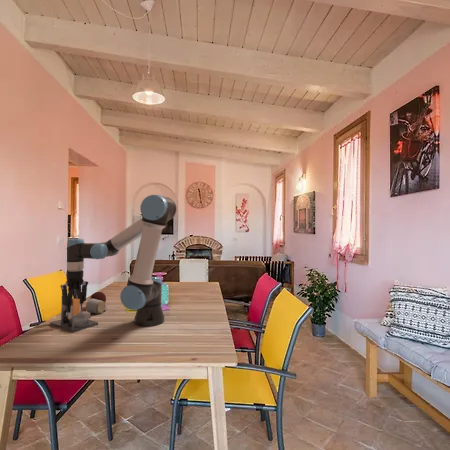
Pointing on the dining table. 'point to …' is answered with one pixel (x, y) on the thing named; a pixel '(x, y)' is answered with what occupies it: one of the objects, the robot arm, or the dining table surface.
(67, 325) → the dark block with post
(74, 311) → the orange rectangular block
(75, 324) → the grey rock
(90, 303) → the ceramic mug
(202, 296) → the dining table surface
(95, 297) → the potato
